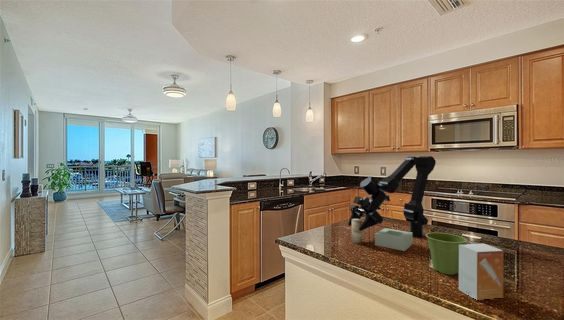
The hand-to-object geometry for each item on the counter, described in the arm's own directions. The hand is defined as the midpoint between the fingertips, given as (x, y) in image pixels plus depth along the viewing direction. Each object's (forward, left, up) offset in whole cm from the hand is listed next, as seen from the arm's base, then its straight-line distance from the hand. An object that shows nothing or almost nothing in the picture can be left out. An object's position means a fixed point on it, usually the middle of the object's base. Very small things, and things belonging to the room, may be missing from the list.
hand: (354, 227), depth 119 cm
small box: (+21, +47, -7) cm, 52 cm away
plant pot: (+9, +37, -7) cm, 38 cm away
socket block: (-8, +15, -7) cm, 18 cm away
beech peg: (-1, +1, -7) cm, 7 cm away
